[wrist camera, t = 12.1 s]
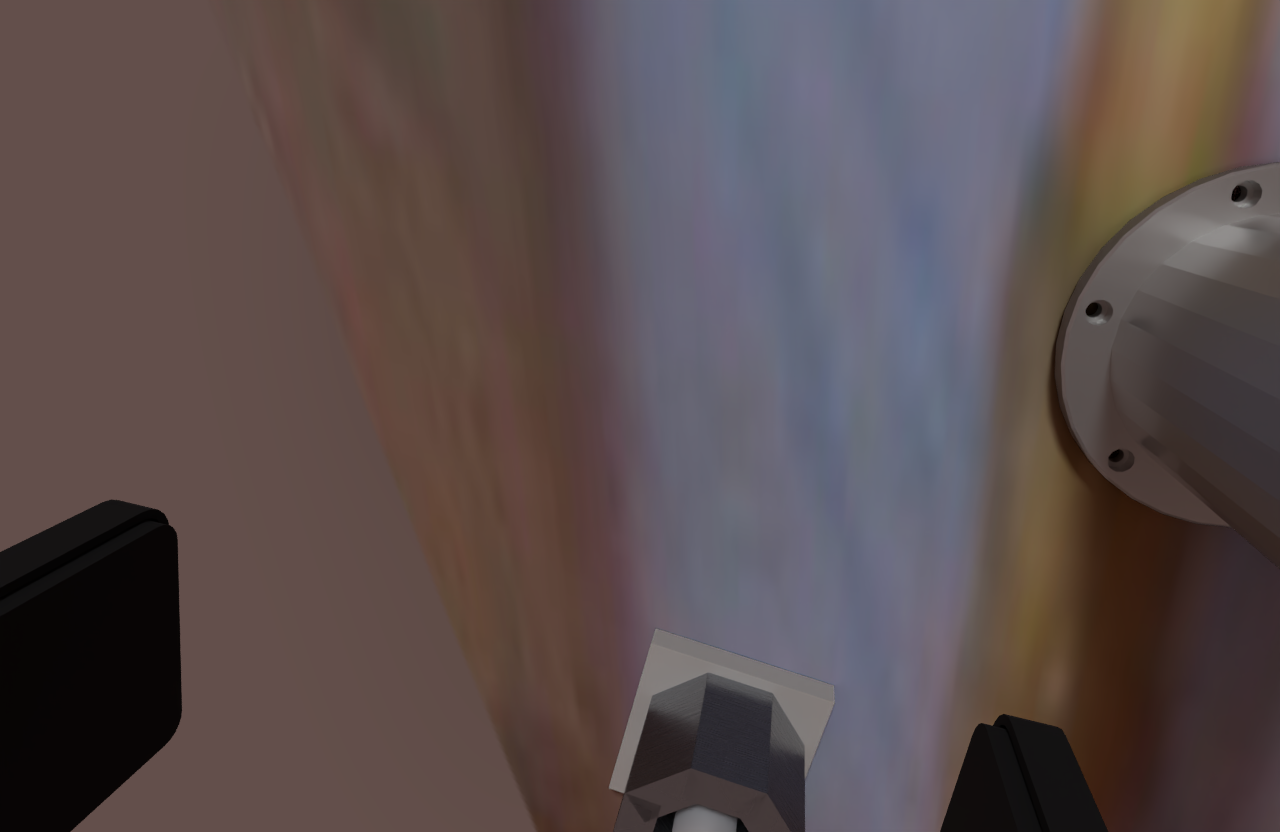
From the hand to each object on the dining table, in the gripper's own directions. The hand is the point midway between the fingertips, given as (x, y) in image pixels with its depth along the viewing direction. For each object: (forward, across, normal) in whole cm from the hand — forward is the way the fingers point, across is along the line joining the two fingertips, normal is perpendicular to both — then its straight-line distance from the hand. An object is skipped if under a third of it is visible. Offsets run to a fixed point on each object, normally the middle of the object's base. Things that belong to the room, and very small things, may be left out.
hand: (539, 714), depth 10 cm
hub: (+23, -3, +18) cm, 30 cm away
